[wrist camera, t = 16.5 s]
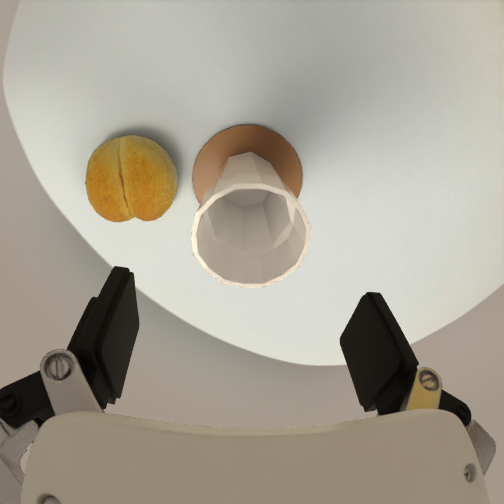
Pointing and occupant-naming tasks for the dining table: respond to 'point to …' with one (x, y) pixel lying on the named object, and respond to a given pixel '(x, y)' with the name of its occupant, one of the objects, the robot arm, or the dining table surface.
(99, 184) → the bread roll
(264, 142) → the coaster
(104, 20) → the dining table surface
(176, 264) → the dining table surface
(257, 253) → the cup
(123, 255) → the dining table surface
